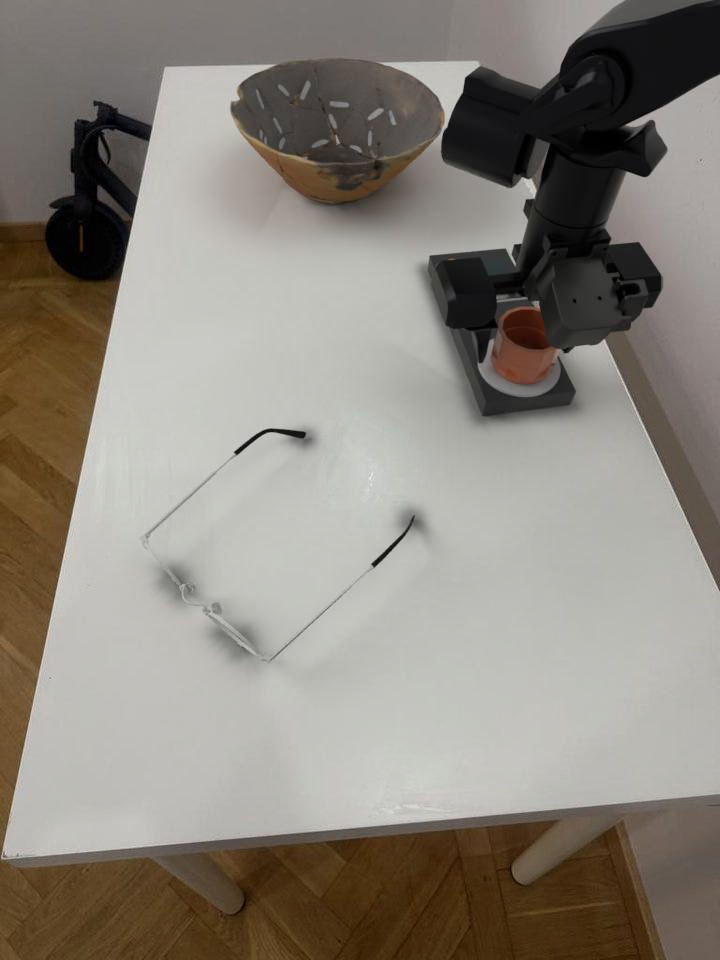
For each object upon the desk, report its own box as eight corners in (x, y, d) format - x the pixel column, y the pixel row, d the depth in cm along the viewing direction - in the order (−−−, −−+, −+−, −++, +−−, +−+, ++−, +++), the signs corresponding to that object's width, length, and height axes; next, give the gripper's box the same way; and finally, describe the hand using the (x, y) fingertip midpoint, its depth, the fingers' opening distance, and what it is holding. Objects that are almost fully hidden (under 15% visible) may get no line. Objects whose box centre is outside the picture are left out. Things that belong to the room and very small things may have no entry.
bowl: (457, 232, 77) (471, 151, 69) (253, 255, 74) (243, 172, 65) (405, 125, 91) (412, 47, 82) (231, 140, 87) (220, 60, 79)
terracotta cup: (552, 347, 63) (566, 312, 59) (549, 392, 60) (563, 358, 56) (492, 336, 64) (502, 301, 60) (485, 380, 60) (495, 346, 57)
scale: (570, 405, 62) (578, 387, 60) (482, 416, 61) (487, 398, 59) (502, 262, 74) (507, 243, 72) (427, 269, 73) (430, 250, 71)
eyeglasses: (131, 558, 52) (113, 528, 47) (294, 427, 60) (291, 391, 56) (267, 693, 46) (260, 672, 42) (427, 528, 54) (435, 496, 50)
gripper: (483, 288, 42) (449, 433, 55) (738, 262, 45) (648, 407, 58) (441, 192, 48) (419, 343, 61) (667, 174, 51) (600, 323, 64)
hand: (522, 355), depth 61 cm, fingers open, 8 cm apart
